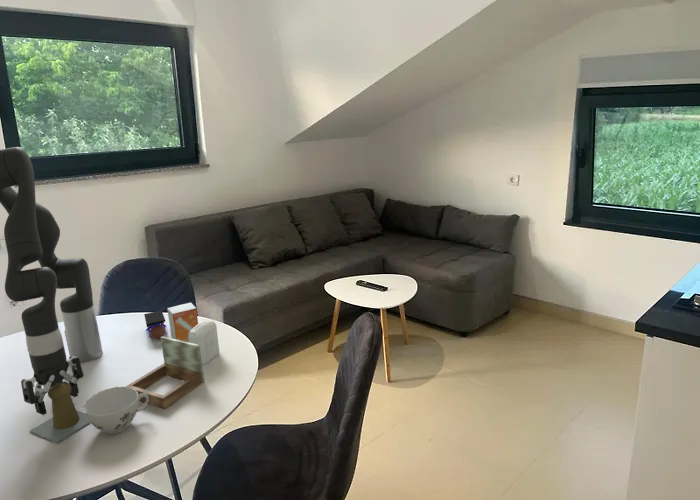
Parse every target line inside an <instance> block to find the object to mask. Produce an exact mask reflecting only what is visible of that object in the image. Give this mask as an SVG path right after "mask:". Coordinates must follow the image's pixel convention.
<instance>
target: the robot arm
mask: <svg viewBox="0 0 700 500" xmlns="http://www.w3.org/2000/svg"><path fill="white" fill-rule="evenodd" d="M33 167H34V166H33V163H32V161H31V158H30V156H29V154H28V153H27V151H25V150H24V148H22V147H19V146H15V147H14V146H13V147H7V148H3V149H0V204H1V205H2V207H3V208H4V210H5V211H6V212H7V214H8V216H7V218H6V221H5V223H4V229H3V233H4V234H3V236H4V240H5V246H6V251H7V269H6V276H5V281H4V292H5V294H6V296H7V297H8V299H10V300H11V301H13V302H17V303H18V302H19V303H20V302H24V301H28V300H29V301H30V300H35V299H39V298H42V300H41V301H40V302H39V303H37V304H35V305H32V306H29V307H27V308H25V309H24V310H23V311H22V313H21V321H22V325H23V329H24V334H25V342H26V343H25V344H26V347H27V352H28V356H29V360H30V364H31V368H32V370H33V376H32V377H31V378H28V379H26V378H23V379H21V381H20V383H21V388H22V395H23V401H24V402H25V403H27V404H30V405H34V407H35V408H34V409H35V412H36V413H37V414H39V415H42V416H46V415H47V413H48V412H47V407H46V403H45V401H44V399H45V396H46V395H47V394H48V390H49V388H50V387H53V386H54V385H56V384H57V383H60V382H62V381H63V380H65V381H66V382H68V383H69V384H70V386H71V393H70V395H71V398H72V397H73V398H77V397H78V396H79V394H80V391H79V390H80V389H79V386H78V385H79V384H78V381H79V380H80V379H82V378H84V375H85V374H84V371H83V368H82V364H81V363H88V362H91V361H95V360H96V359H99V357H100V356H101V357H102V354H103V353H104V352H103V347H102V341H101V335H100V330H99V325H98V321H97V320H98V319H97V315H96V311H95V305H94V300H93V299H94V298H93V288H92V282H91V273H90V268H89V265H88V261H86V260H85V258H83V257H82V258H81V257H74V258H59V257H58V256H57V255H56V253H55V250H56V247H57V245H58V242H59V240H60V236H61V228H60V226H59V224H58V223H57V221H56V219H55V217H54V215H53V214H52V212H51V210H49V209H47V207H45V206H44V205H42V204H40V203H38V202H36V185H35V171H34V168H33ZM15 186H17V188H18V189H17V190H18V191H16V190H15V189H14V188H13V187H15ZM35 262H38V263H39V265H40V267H35V268H30V269H24V268H25V267H26V266H27V265H30V264H32V263H35ZM23 269H24V270H23ZM57 289H60V290H61V289H62V290H67V289H75V293H73V294H71V295H68V296H67V297H65V298H63V299H62V300H61V301H60V303H59V307H60V312H61V316H62V320H63V326H64V337H65V340H66V344H67V351H68V354H69V357H68V359H67V353H66V350H65V344H64V340H63V336H62V333H61V329H60V327H59V323H58V318H57V313H56V295H57ZM69 367H71V372H72V374H70V373H68V369H69ZM42 387H43V388H42Z"/></svg>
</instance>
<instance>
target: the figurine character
mask: <svg viewBox="0 0 700 500" xmlns="http://www.w3.org/2000/svg"><path fill="white" fill-rule="evenodd" d="M143 315H144V320H145V325H146V329H145V331H146V332H148V333H149V334H150V337H151V338H152V339H153V340H161V338H160V337H162V336H164V337H166V331H167V330H166V327H167V325H166V324H165V322H166V317H165V316H164V312H163V310H162V309H161V310H156V311H152V312H148V313H143Z"/></svg>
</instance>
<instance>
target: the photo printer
mask: <svg viewBox="0 0 700 500" xmlns="http://www.w3.org/2000/svg"><path fill="white" fill-rule="evenodd" d="M217 329H218V327H217V324H216V322H215V321H214V320H205V321H201V322H199V323H198V325H196V326H195V327H194V328H193V329H192V330H191V331H190V332H189V334H188V340H189V343H193V344H197V345H200V353H201V360H202V366H203V365H205V364H206V363H208V362H209V361H211V360H212V359H214V358H215V357H216V356H218V355H219V354H220V345H219V337H218V330H217Z"/></svg>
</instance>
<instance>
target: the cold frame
mask: <svg viewBox="0 0 700 500" xmlns="http://www.w3.org/2000/svg"><path fill="white" fill-rule="evenodd" d="M160 338H161V339H160V345H161V351H162V355H163V363H162V364H161V365H159V366H158V367H155V368H154V369H152V370H151V371H149V372H147V373H146V374H143V376H141V377H139V378H138V379H136V380H134V381H133V382H131V383H129V384H126V386H125V387H127V388H132V389H134V390H136V391H137V393H138V395H140V394H142V393H147V394H148V397H149V401H148V403H147V405H148V406H152V407H154V408H157V409H161V410H164V411H166V410H167V409H169V408H170V407H172V406H173V405H174V404H176V403H177V402H178V401H180V400H181V399H183V398H184V397H185V396H187V395H188V394H190V393H191V392H192V391H194V390H195V389H197V388H198V387H200V386H202V384H204V383H205V377H204V369H203V365H202V360H201V353H200V345H197V344H193V343H189V342H185V341H181V340H176V339H172V338H171V337H169V336H168V337H167V336H162V337H160ZM166 377H168V378H172V379H175V380H178V381H182V382H181V383H180V384H178V385H176V386H175V387H173V388H172V389H170V390H169V391H168V392H166V393H164V394H160V393H157V392H154V391H151V390H147V389H148V388H150V387H151V386H153V385H154V384H156V383H157V382H159V381H160V380H162V379H164V378H166ZM145 402H146V398H145V397H142V398H141V399H140V400H139V403H142V404H144V403H145Z"/></svg>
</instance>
